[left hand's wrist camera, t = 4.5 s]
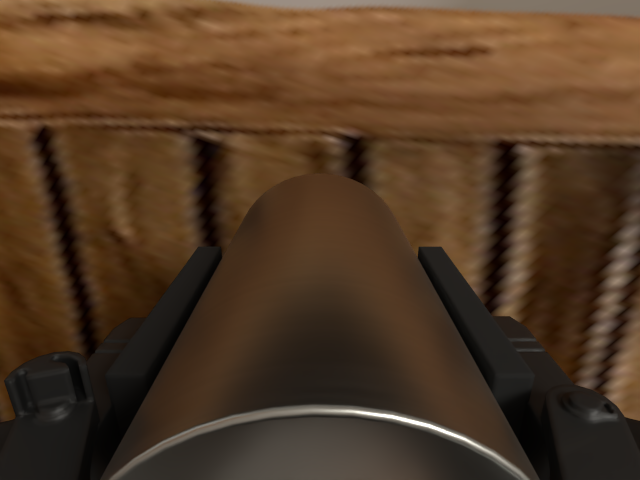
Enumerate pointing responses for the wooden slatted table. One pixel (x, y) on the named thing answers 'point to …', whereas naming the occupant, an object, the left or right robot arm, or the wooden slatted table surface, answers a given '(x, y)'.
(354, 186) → the canister
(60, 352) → the left robot arm
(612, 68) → the wooden slatted table surface
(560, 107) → the wooden slatted table surface
